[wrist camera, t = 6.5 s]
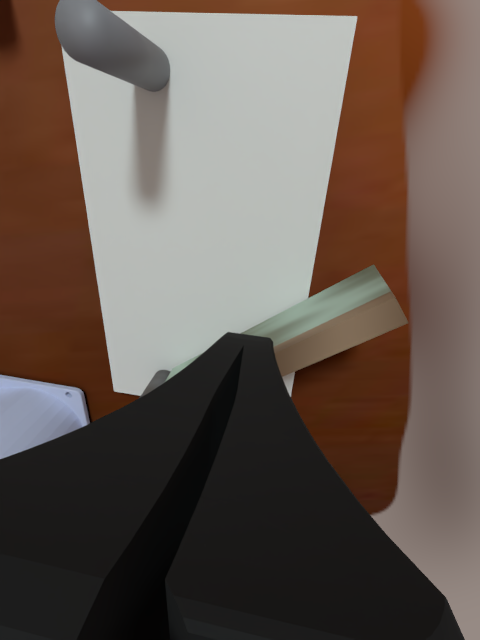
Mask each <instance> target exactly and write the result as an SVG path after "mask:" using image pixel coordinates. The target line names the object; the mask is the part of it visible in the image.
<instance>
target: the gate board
mask: <svg viewBox="0 0 480 640" xmlns="http://www.w3.org/2000/svg"><path fill="white" fill-rule="evenodd" d="M356 21H357V16H317V15H270V14H223V13H175V12H128V11H110V10H109V9H107V8H106V7H105V6H103V5H102V4H100V3H99V2H98V1H96V0H60V1H59V3H58V5H57V9H56V13H55V27H56V33H57V36H58V39H59V41H60V43H61V45H62V52H63V58H64V65H65V71H66V78H67V85H68V91H69V98H70V104H71V111H72V117H73V124H74V131H75V137H76V144H77V150H78V157H79V164H80V170H81V177H82V183H83V190H84V197H85V203H86V210H87V216H88V223H89V229H90V236H91V243H92V249H93V256H94V262H95V269H96V276H97V282H98V289H99V295H100V302H101V309H102V315H103V322H104V328H105V335H106V342H107V348H108V355H109V361H110V368H111V374H112V381H113V388H114V391H115V392H121V393H127V394H133V395H139V396H141V395H142V393H143V392H144V390H145V389H146V387H147V385H148V384H149V382H150V381H151V379H152V378H153V376H154V375H155V373H156V372H157V371H159V370H168V371H172V369H173V368H174V367H176V366H178V365H180V364H182V363H184V362H186V361H188V360H190V359H192V358H194V357H196V356H198V355H200V354H202V353H203V352H205V351H206V350H207V349H208V348H209V347H211V346H212V345H213V344H214V343H215V342H216V341H217V340H218V339H220V338H221V337H222V336H223V335H224V334H226V333H227V332H232V333H239V334H240V333H242V332H244V331H246V330H248V329H250V328H252V327H254V326H256V325H258V324H260V323H262V322H263V321H265V320H267V319H269V318H271V317H273V316H275V315H277V314H279V313H281V312H283V311H285V310H287V309H289V308H291V307H292V306H294V305H296V304H298V303H300V302H302V301H304V300H306V299H308V295H309V289H310V284H311V278H312V272H313V266H314V261H315V255H316V249H317V244H318V238H319V232H320V227H321V221H322V215H323V209H324V204H325V198H326V192H327V187H328V181H329V175H330V170H331V164H332V158H333V152H334V147H335V141H336V135H337V130H338V124H339V118H340V113H341V107H342V101H343V96H344V90H345V84H346V78H347V73H348V67H349V61H350V56H351V50H352V44H353V39H354V33H355V27H356ZM294 375H295V372H293V373H290V374H288V375H286V376H283V377H282V378H283V381H284V383H285V386H286V388H287V390H288V393H289V395H290V397H291V392H292V386H293V380H294Z"/></svg>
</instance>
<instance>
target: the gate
mask: <svg viewBox="0 0 480 640" xmlns="http://www.w3.org/2000/svg"><path fill="white" fill-rule="evenodd" d="M407 323H408V321H407V319H406V317H405V315H404V313H403V311H402V309H401V308H400V306H399V304H398V302H397V300H396V298H395V296H394V295H393V293H392V292H391V290H390V289H389V287H388V286H387V284H386V283H385V281H384V280H383V278H382V277H381V275H380V273H379V272H378V270H377V269H376V267H375V266H374V265H372V266H370V267H368V268H366V269H364V270H362V271H360V272H358V273H356V274H354V275H352V276H351V277H349V278H347V279H345V280H343V281H341V282H339V283H337V284H335V285H333V286H331V287H329V288H327V289H325V290H323V291H322V292H320V293H318V294H316V295H314V296H312V297H310V298H308V299H306V300H304V301H302V302H300V303H298V304H296V305H294V306H292V307H291V308H289V309H287V310H285V311H283V312H281V313H279V314H277V315H275V316H273V317H271V318H269V319H267V320H265V321H263V322H262V323H260V324H258V325H256V326H254V327H252V328H250V329H248V330H246V331H244V332H242V333H240V334H247V335H254V336H261V337H268V338H271V340H272V341H273V347H274V353H275V357H276V361H277V364H278V367H279V370H280V373H281V375H282V377H283V376H286V375H288V374H290V373H293V372H295V371H297V370H300V369H302V368H304V367H307V366H309V365H311V364H314V363H316V362H318V361H321V360H323V359H325V358H328V357H330V356H332V355H335V354H337V353H339V352H342V351H344V350H346V349H349V348H351V347H353V346H356V345H358V344H360V343H363V342H365V341H367V340H370V339H372V338H374V337H377V336H379V335H381V334H384V333H386V332H388V331H391V330H393V329H395V328H398V327H400V326H402V325H405V324H407ZM203 353H204V352H203ZM203 353H202V354H203ZM200 355H201V354H200ZM200 355H198V356H196V357H194V358H192V359H190V360H188V361H186V362H184V363H182V364H180V365H178V366H176V367H174V368H173V369H172V371H168V370H159V371H157V372H156V373H155V375H154V376H153V378H152V379H151V381H150V382H149V384H148V385H147V387H146V389H145V390H144V392H143V393H142V395H141V396H140V397H142V396H144V395H146V394H147V393H149V392H151V391H152V390H154V389H155V388H157V387H158V386H160V385H161V384H163V383H164V382H166V381H167V380H169V379H170V378H171V377H173V376H174V375H176V374H177V373H178V372H180V371H181V370H183V369H184V368H185V367H186V366H188V365H189V364H190V363H191V362H193V361H194V360H195V359H196V358H198V357H199V356H200Z"/></svg>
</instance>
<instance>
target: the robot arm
mask: <svg viewBox="0 0 480 640" xmlns="http://www.w3.org/2000/svg"><path fill="white" fill-rule="evenodd" d="M0 640H465V639H464V637H463V635H462V633H461V631H460V628H459V626H458V624H457V621H456V619H455V617H454V615H453V613H452V610H451V608H450V606H449V603H448V601H447V599H446V597H445V596H444V595H443V594H442V593H441V592H440V591H439V590H438V589H437V588H436V587H435V586H434V585H433V583H432V582H431V581H430V580H429V579H428V578H427V577H426V576H425V575H424V574H423V573H422V572H421V571H420V570H419V569H418V568H417V567H416V565H415V564H414V563H413V562H412V561H411V560H410V559H409V558H408V557H407V556H406V555H405V554H404V553H403V552H402V551H401V550H400V549H399V547H398V546H397V545H396V544H395V543H394V542H393V541H392V540H391V539H390V538H389V537H388V536H387V535H386V534H385V532H384V531H383V530H382V529H381V528H380V527H379V526H378V524H377V523H376V522H375V521H374V519H373V518H372V517H371V516H370V515H369V513H368V512H367V511H366V510H365V509H364V507H363V506H362V505H361V504H360V503H359V502H358V500H357V499H356V498H355V496H354V495H353V494H352V492H351V491H350V490H349V488H348V487H347V486H346V484H345V483H344V482H343V480H342V479H341V478H340V476H339V475H338V474H337V472H336V471H335V470H334V468H333V467H332V466H331V464H330V463H329V462H328V460H327V459H326V457H325V456H324V454H323V453H322V451H321V450H320V448H319V447H318V445H317V444H316V442H315V441H314V439H313V438H312V436H311V434H310V433H309V431H308V429H307V428H306V426H305V424H304V422H303V421H302V419H301V417H300V415H299V413H298V411H297V409H296V407H295V405H294V403H293V401H292V399H291V397H290V395H289V393H288V390H287V388H286V386H285V383H284V381H283V378H282V375H281V373H280V370H279V367H278V364H277V361H276V357H275V353H274V347H273V341H272V340H271V338H268V337H261V336H254V335H247V334H239V333H232V332H227V333H226V334H224V335H223V336H222V337H221V338H220V339H218V340H217V341H216V342H215V343H214V344H213V345H212V346H211V347H209V348H208V349H207V350H206V351H205V352H204V353H203V354H201V355H200V356H199V357H198V358H196V359H195V360H194V361H193V362H191V363H190V364H189V365H188V366H186V367H185V368H184V369H183V370H181V371H180V372H178V373H177V374H176V375H174V376H173V377H171V378H170V379H169V380H167V381H166V382H164V383H163V384H161V385H160V386H158V387H157V388H155V389H154V390H152V391H151V392H149V393H147V394H146V395H144V396H142V397H140V398H139V399H137V400H135V401H134V402H132V403H130V404H128V405H126V406H124V407H123V408H121V409H119V410H116V411H114V412H112V413H110V414H108V415H106V416H104V417H102V418H100V419H98V420H96V421H94V422H92V423H90V421H89V416H88V411H87V406H86V402H85V397H84V393H83V391H82V390H81V389H79V388H75V387H69V386H63V385H57V384H51V383H45V382H40V381H34V380H28V379H22V378H16V377H10V376H4V375H0Z"/></svg>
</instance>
